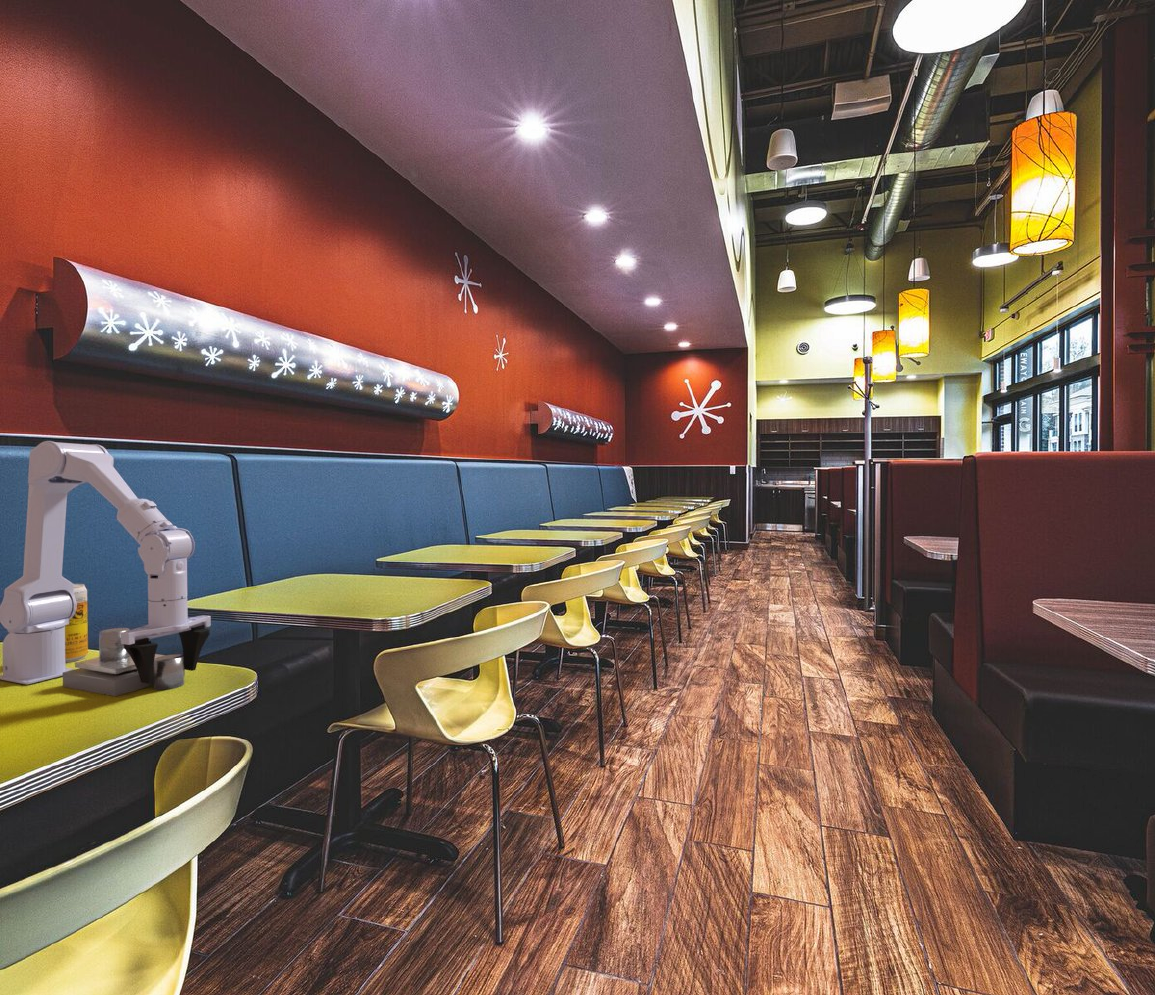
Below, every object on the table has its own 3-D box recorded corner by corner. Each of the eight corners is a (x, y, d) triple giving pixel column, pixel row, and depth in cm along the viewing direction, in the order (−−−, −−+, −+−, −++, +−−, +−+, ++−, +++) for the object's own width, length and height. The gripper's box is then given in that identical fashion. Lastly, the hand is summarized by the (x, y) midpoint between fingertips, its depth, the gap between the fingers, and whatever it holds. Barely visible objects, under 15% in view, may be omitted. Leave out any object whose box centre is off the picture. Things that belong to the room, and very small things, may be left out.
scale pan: (75, 667, 107) (74, 662, 107) (128, 654, 116) (128, 650, 116) (115, 674, 103) (115, 669, 103) (168, 660, 112) (168, 655, 112)
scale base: (62, 686, 106) (62, 669, 106) (134, 667, 117) (134, 652, 117) (115, 696, 101) (114, 678, 101) (184, 675, 112) (184, 659, 112)
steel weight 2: (147, 688, 105) (147, 659, 105) (172, 681, 109) (172, 653, 109) (165, 691, 104) (164, 662, 103) (189, 683, 108) (189, 655, 108)
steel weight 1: (95, 659, 109) (94, 631, 109) (123, 653, 113) (123, 626, 113) (105, 662, 107) (105, 634, 107) (134, 656, 111) (133, 629, 111)
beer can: (65, 664, 119) (64, 588, 119) (40, 663, 121) (39, 587, 120) (95, 656, 125) (94, 584, 125) (71, 654, 127) (70, 583, 126)
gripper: (140, 607, 98) (141, 691, 98) (222, 593, 111) (223, 666, 112) (112, 604, 101) (113, 686, 101) (195, 591, 114) (196, 662, 114)
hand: (169, 675), depth 106 cm, fingers open, 7 cm apart
